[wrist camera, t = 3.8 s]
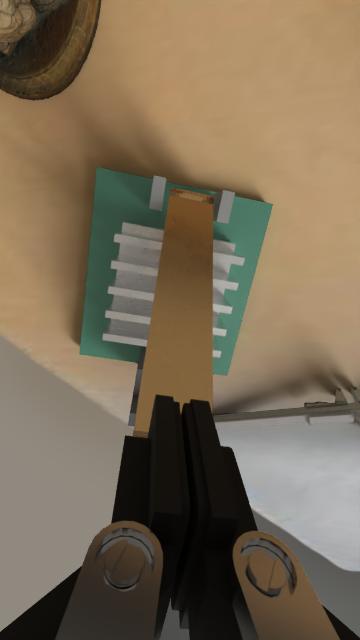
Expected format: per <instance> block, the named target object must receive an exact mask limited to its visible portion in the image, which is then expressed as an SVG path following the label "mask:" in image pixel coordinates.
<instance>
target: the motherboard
mask: <svg viewBox="0 0 360 640" xmlns="http://www.w3.org/2000/svg"><path fill="white" fill-rule="evenodd" d="M171 187H172V188H177V189H182V190H186V191H191V192H196V193H201V194H205V195H210V196H214V201H213V239H218V240H223V241H228V242H232V243H234V244H236V245H235V249H234V252H235V253H237V254H238V255H240V256H242V257H244V258H245V260H244V264H243V266H242V265H236V264H231V266H230V270H229V275H230V276H231V277H233V278H234V279H235V280H236V281H237V282H238V283H239V284H238V288H237V290H231V289H225V291H224V296H225V297H226V299H227V300H228V301H229V303H230V304H231V306H232V307H233V308H232V312H231V314H227V313H221V312H219V316H220V318H221V320H222V322H223V324H224V325H225V327H226V329H227V331H226V335H225V336H219V335H215V337H216V340H217V342H218V344H219V347H220V349H221V355H220V358H218V357H213V374H219V375H226V376H227V374H228V371H229V367H230V363H231V359H232V356H233V352H234V348H235V344H236V341H237V337H238V333H239V329H240V326H241V322H242V318H243V314H244V311H245V307H246V303H247V299H248V296H249V292H250V288H251V284H252V281H253V277H254V273H255V270H256V266H257V262H258V258H259V255H260V251H261V247H262V243H263V240H264V236H265V232H266V228H267V225H268V221H269V217H270V213H271V210H272V206H273V204H270V203H265V202H261V201H256V200H251V199H246V198H242V197H237V196H235V192H231V191H226V190H222V191H220V192H213V191H208V190H204V189H199V188H194V187H189V186H185V185H180V184H175V183H170V182H166V178H165V177H160V176H155V175H154V178H153V179H151V178H147V177H142V176H137V175H132V174H128V173H123V172H118V171H113V170H109V169H104V168H99V167H97V170H96V181H95V191H94V202H93V213H92V224H91V235H90V246H89V257H88V267H87V278H86V289H85V300H84V311H83V322H82V333H81V343H80V354H81V355H88V356H95V357H102V358H109V359H116V360H123V361H130V362H136V363H138V362H139V356H140V350H141V346H139V345H132V344H125V343H119V342H112V341H106V340H102V339H103V333H104V331H105V329H106V327H107V325H108V323H109V321H110V319H111V318H106V317H105V313H106V309H107V307H108V306H109V304H110V302H111V301H112V299H113V297H114V294H108V287H109V285H110V284H111V282H112V281H113V280H114V278H115V277H116V273H117V269H112V268H111V261H112V260H113V259H114V258H115V257H116V256H117V255H118V254H119V249H120V243H118V242H114V236H115V233H117V232H120V231H122V225H123V222H130V223H135V224H140V225H145V226H151V227H156V228H161V229H164V228H165V221H166V215H167V208H168V202H169V195H170V190H171Z"/></svg>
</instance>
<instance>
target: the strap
mask: <svg viewBox="0 0 360 640" xmlns="http://www.w3.org/2000/svg"><path fill="white" fill-rule="evenodd" d="M213 201H214V196H210V195H205V194H201V193H196V192H191V191H186V190H182V189H177V188H172V187H171V190H170V195H169V202H168V208H167V215H166V221H165V228H164V235H163V241H162V248H161V254H160V261H159V267H158V274H157V280H156V287H155V293H154V300H153V306H152V313H151V320H150V326H149V333H148V339H147V346H146V352H145V359H144V365H143V372H142V378H141V385H140V392H139V398H138V405H137V411H136V418H135V424H134V431H133V436H135V437H143V438H147V437H148V432H149V427H150V421H151V416H152V410H153V405H154V400H155V396H156V394H157V395H165V396H173V398H174V401H175V402H179V403H180V412H182V407H183V404H184V403H189V402H190V400H191V399H196V400H204V401H209V404H210V407H211V411H212V406H213Z"/></svg>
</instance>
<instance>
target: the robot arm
mask: <svg viewBox="0 0 360 640" xmlns="http://www.w3.org/2000/svg"><path fill="white" fill-rule="evenodd" d="M170 598H171V606H172V610H179V617H180V618H179V619H180V628H181V629H189V634H190V635H189V636H190V640H360V638H359V637H358V636H357V635H356V634H355V633H354V632H352V631H351V630H350V629H349V628H348V627H347V626H346V625H344V624H343V623H342V622H341V621H340V620H339V619H338V618H336V617H335V616H334V615H333V614H332V613H331V612H329V611H328V610H327V609H326V608H325V607H324V606H323V605H322V604H321V603H320V601H319V599H318V597H317V595H316V593H315V591H314V589H313V587H312V586H311V584H310V582H309V580H308V578H307V576H306V574H305V572H304V571H303V569H302V567H301V565H300V563H299V561H298V560H297V559H296V557H295V555H294V554H293V552H292V551H291V550H290V549H289V548H288V547H287V546H286V545H285V544H284V543H283V542H282V541H280V540H279V539H277V538H276V537H274V536H273V535H270V534H268V533H265V532H261V531H258V529H257V526H256V523H255V520H254V517H253V513H252V510H251V507H250V504H249V500H248V497H247V494H246V491H245V488H244V484H243V481H242V478H241V475H240V471H239V468H238V465H237V462H236V459H235V455H234V452H233V450H232V449H231V448H230V447H224V446H221V445H220V442H219V438H218V434H217V430H216V426H215V423H214V419H213V415H212V411H211V407H210V404H209V401H204V400H196V399H191V400H190V402H189V403H184V404H183V407H182V412H180V403H179V402H175V401H174V398H173V396H165V395H157V394H156V396H155V400H154V405H153V410H152V416H151V421H150V427H149V432H148V437H147V438H143V437H134V436H125V440H124V446H123V453H122V459H121V465H120V471H119V478H118V484H117V490H116V497H115V504H114V509H113V516H112V522H111V524H110V525H109V526H107V527H105V528H103V529H102V530H101V531H100V532H99V533H98V534H97V535H96V536H95V537H94V539H93V541H92V543H91V545H90V546H89V548H88V551H87V554H86V556H85V560H84V562H83V565H82V566H81V567H80V568H79V569H77V570H76V571H75V572H74V573H72V574H71V575H70V576H69V577H68V578H66V579H65V580H64V581H62V582H61V583H60V584H59V585H58V586H56V587H55V588H54V589H53V590H52V591H50V592H49V593H48V594H47V595H45V596H44V597H43V598H41V599H40V600H39V601H38V602H37V603H35V604H34V605H33V606H32V607H30V608H29V609H28V610H27V611H25V612H24V613H23V614H22V615H21V616H19V617H18V618H17V619H16V620H14V621H13V622H12V623H11V624H9V625H8V626H7V627H6V628H4V629H3V630H2V631H1V632H0V640H159V639H160V636H161V632H162V628H163V624H164V620H165V617H166V613H167V609H168V606H169V601H170Z"/></svg>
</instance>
